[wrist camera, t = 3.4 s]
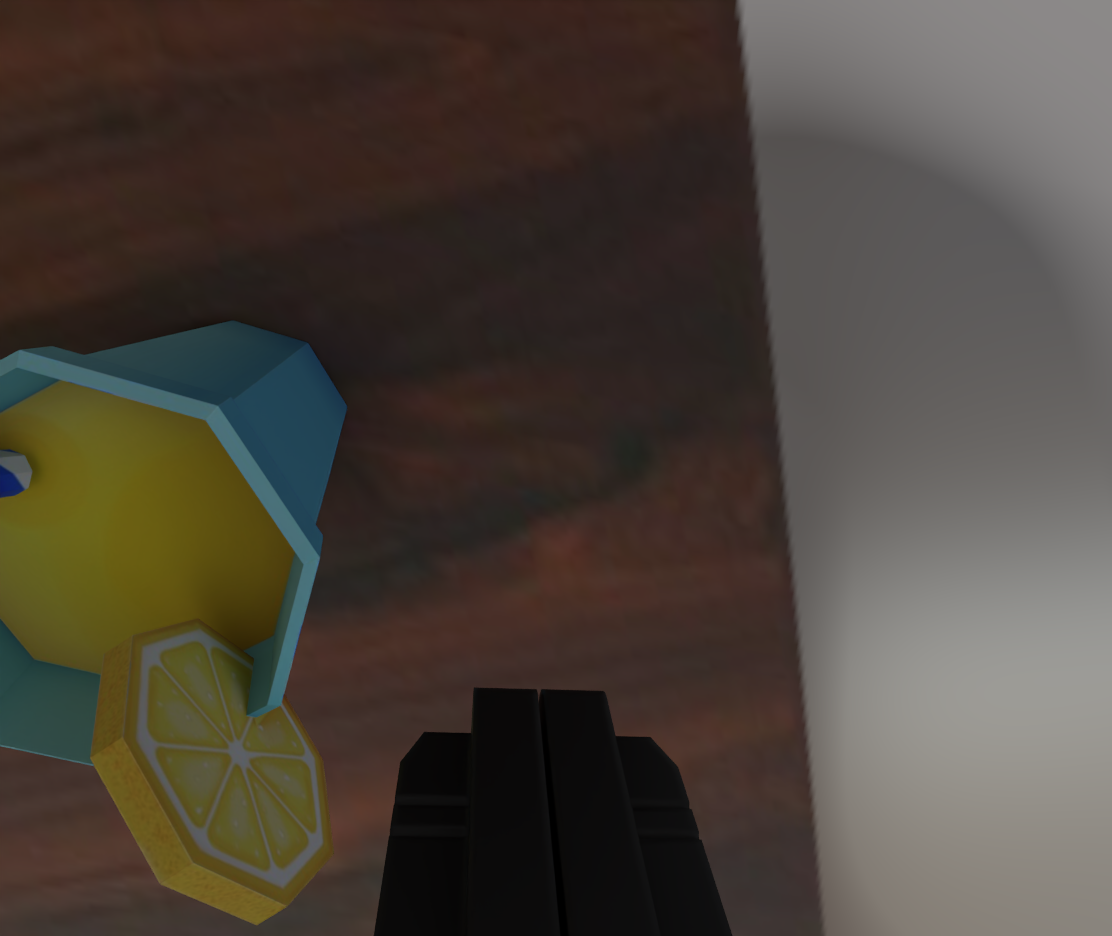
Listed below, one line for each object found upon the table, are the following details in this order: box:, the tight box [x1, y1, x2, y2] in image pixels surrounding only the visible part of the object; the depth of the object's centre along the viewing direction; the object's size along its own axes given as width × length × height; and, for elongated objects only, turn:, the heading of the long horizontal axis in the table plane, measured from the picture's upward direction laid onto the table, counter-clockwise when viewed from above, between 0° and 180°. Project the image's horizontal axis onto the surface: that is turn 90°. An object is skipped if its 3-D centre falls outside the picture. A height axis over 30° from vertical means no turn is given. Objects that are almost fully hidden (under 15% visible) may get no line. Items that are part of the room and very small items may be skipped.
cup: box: [0, 320, 347, 925], centre depth 17 cm, size 14×8×15 cm, turn 49°
